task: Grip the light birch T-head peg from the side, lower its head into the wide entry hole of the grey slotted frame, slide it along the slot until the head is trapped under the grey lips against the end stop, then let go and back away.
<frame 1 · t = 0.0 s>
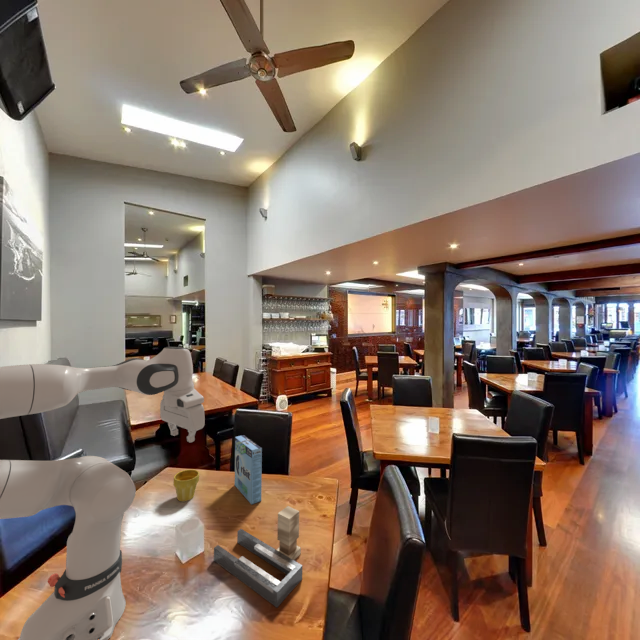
hand: (182, 438, 95), 39 cm above the table, tool pointing down, fingers open, 8 cm apart
grey slotted frame: (254, 568, 91), on the table
gum box: (247, 493, 132), on the table
plant pot: (186, 497, 128), on the table
birch keyhole peg: (287, 555, 96), on the table
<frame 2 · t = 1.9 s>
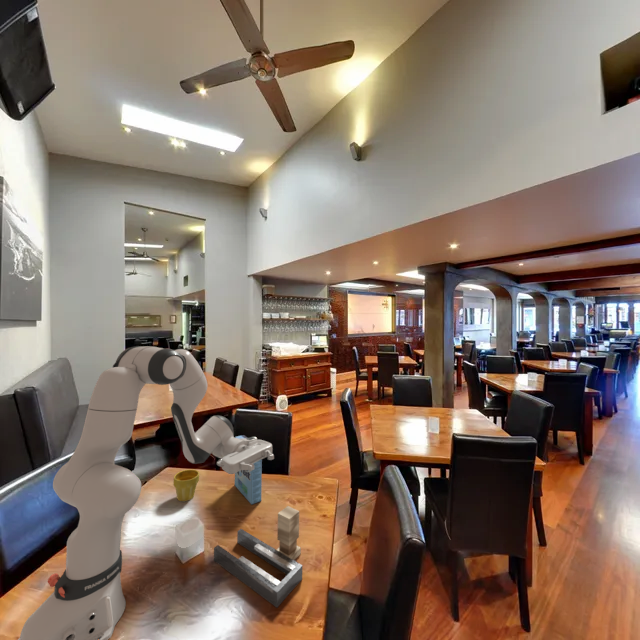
hand: (263, 462, 104), 27 cm above the table, tool horizontal, fingers open, 8 cm apart
nothing on the table moved.
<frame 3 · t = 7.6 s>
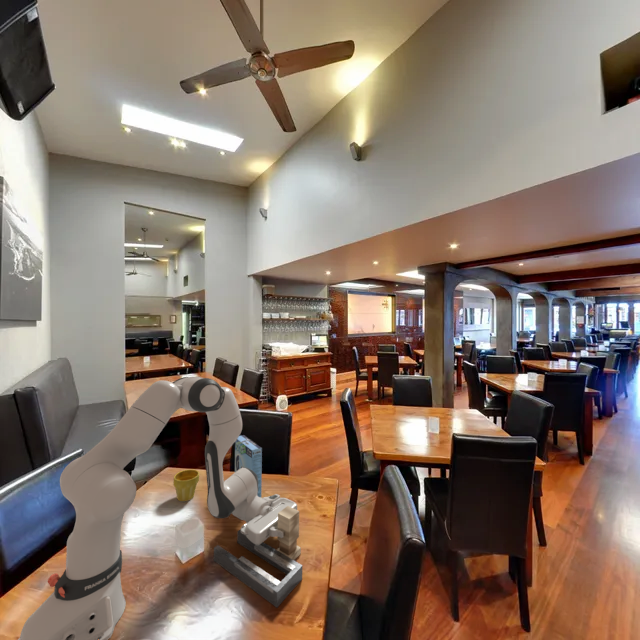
hand: (290, 529, 96), 9 cm above the table, tool horizontal, fingers closed on birch keyhole peg, 5 cm apart
birch keyhole peg: (287, 555, 96), on the table, touching gripper
everything else where it was.
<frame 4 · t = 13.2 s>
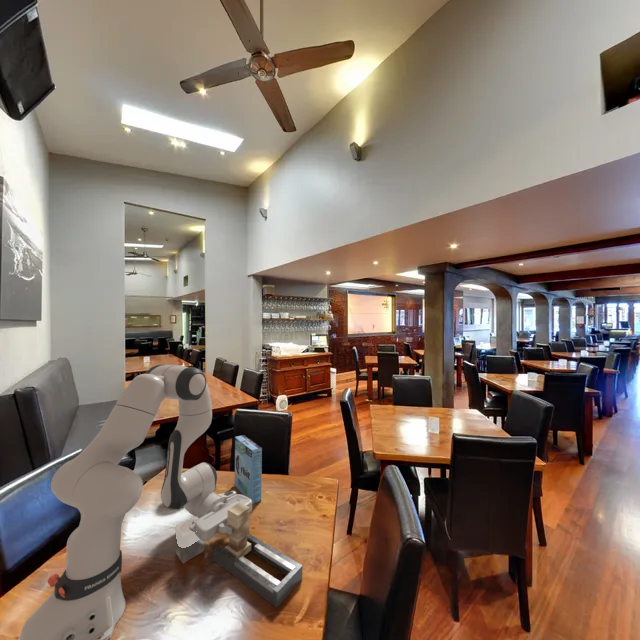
hand: (240, 525, 95), 10 cm above the table, tool horizontal, fingers closed on birch keyhole peg, 5 cm apart
birch keyhole peg: (238, 551, 96), point 1 cm above the table, touching gripper
everything else where it was.
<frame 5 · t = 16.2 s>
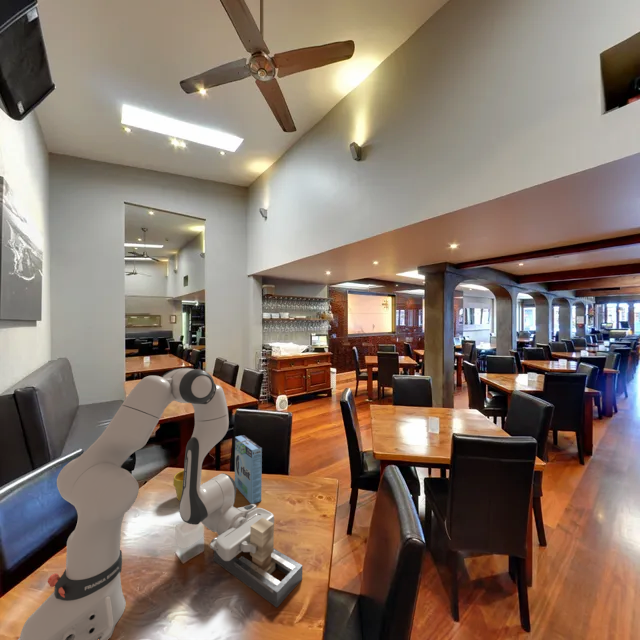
hand: (264, 543, 89), 9 cm above the table, tool horizontal, fingers closed on birch keyhole peg, 5 cm apart
birch keyhole peg: (261, 571, 89), resting in grey slotted frame, touching gripper
everything else where it was.
when the fingers open (9 cm above the table, at t = 19.1 s): birch keyhole peg stays where it is, resting in grey slotted frame.
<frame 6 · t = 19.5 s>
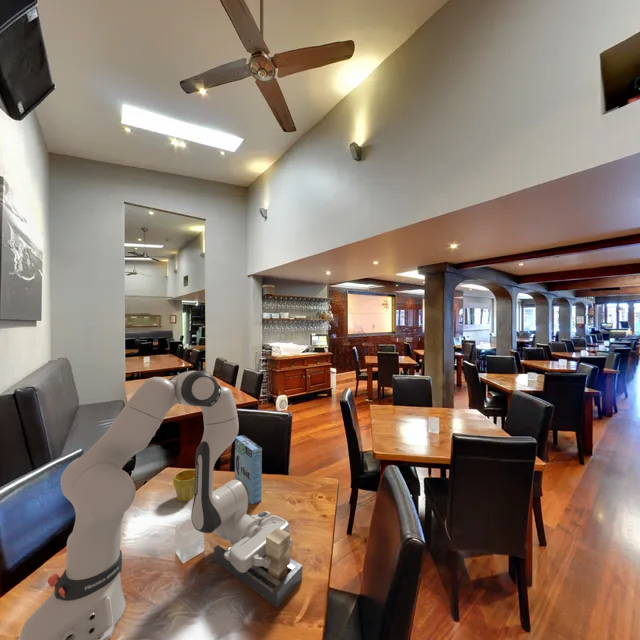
hand: (280, 553, 85), 9 cm above the table, tool horizontal, fingers open, 8 cm apart
birch keyhole peg: (277, 584, 85), resting in grey slotted frame
everything else where it was.
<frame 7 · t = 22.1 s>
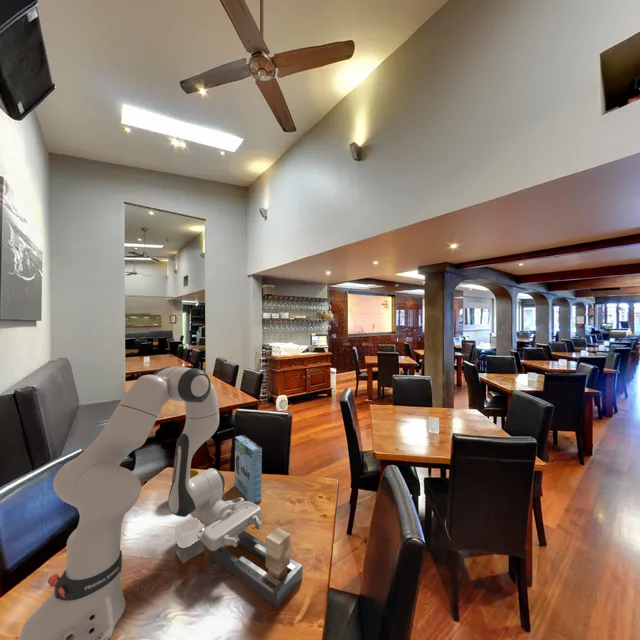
hand: (249, 534, 93), 9 cm above the table, tool horizontal, fingers open, 8 cm apart
nothing on the table moved.
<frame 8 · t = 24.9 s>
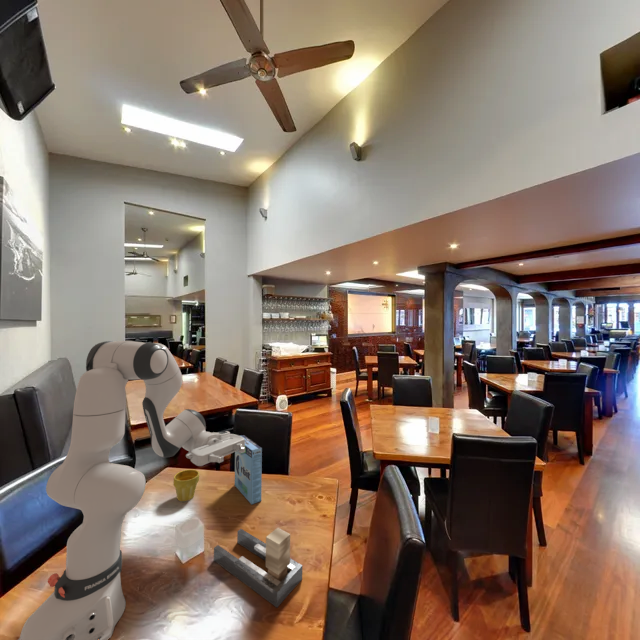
hand: (233, 455, 103), 30 cm above the table, tool horizontal, fingers open, 8 cm apart
nothing on the table moved.
at the end: birch keyhole peg 0.1 cm from the target spot, resting in grey slotted frame; birch keyhole peg tilted 0°; the gripper is holding nothing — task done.
